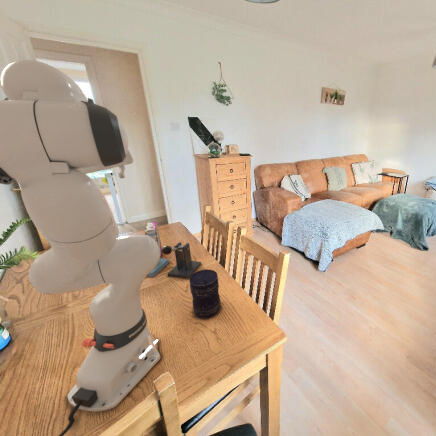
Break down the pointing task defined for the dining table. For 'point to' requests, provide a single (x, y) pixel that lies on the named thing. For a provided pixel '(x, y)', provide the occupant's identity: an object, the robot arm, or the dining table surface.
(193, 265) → the switch bracket
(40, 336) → the dining table surface
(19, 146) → the robot arm
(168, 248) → the power lever
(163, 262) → the panel
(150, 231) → the candy bar box
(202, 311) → the storage jar
